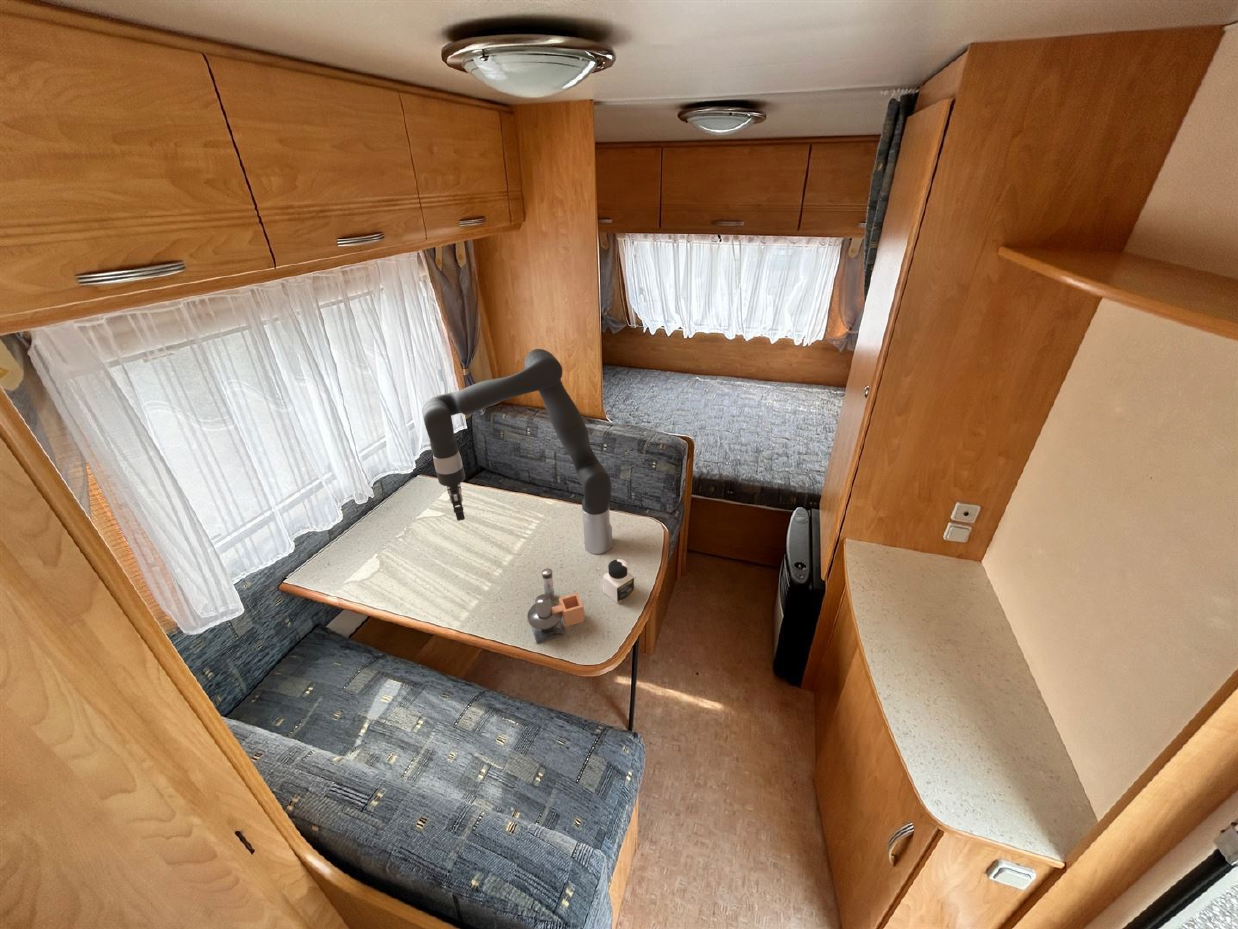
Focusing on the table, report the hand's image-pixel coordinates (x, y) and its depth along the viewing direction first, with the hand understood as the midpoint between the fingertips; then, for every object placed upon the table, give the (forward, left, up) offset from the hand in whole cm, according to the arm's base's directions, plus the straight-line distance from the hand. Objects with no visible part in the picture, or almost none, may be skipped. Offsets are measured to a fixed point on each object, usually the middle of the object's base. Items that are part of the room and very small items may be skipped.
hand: (459, 511), depth 155 cm
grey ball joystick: (-17, +29, -28) cm, 44 cm away
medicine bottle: (-42, +23, -28) cm, 56 cm away
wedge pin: (-21, +17, -28) cm, 39 cm away
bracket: (-24, +29, -26) cm, 46 cm away
